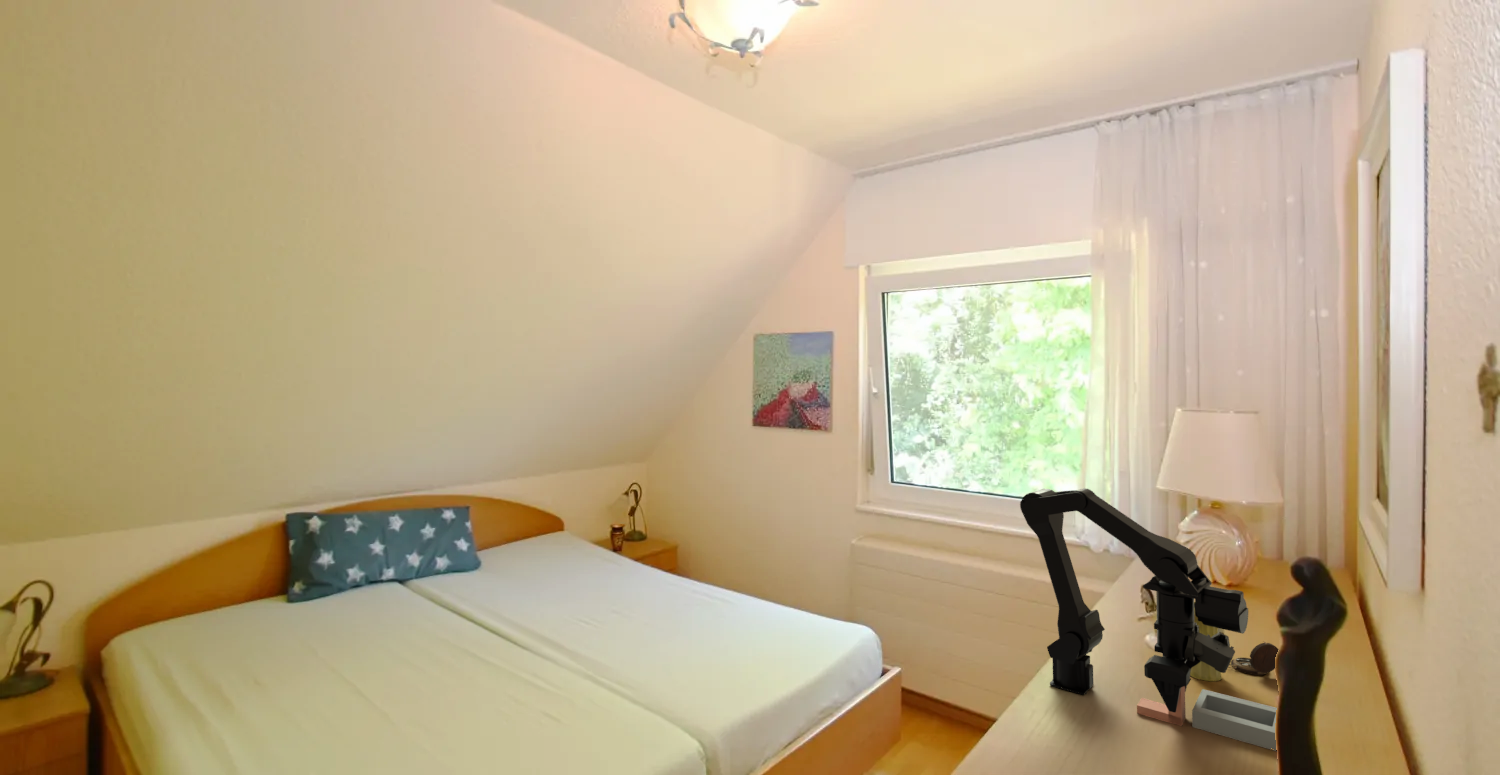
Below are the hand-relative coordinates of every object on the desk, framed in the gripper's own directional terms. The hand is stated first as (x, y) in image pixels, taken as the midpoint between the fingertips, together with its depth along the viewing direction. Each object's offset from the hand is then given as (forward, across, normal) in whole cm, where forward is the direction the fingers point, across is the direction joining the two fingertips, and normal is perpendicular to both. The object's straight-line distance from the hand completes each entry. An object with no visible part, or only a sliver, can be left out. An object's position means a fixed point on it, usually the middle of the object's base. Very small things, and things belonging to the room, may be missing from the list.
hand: (1176, 703), depth 120 cm
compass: (+3, +31, -7) cm, 32 cm away
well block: (+3, +4, -8) cm, 10 cm away
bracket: (+3, 0, +2) cm, 4 cm away
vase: (+3, +23, 0) cm, 23 cm away
